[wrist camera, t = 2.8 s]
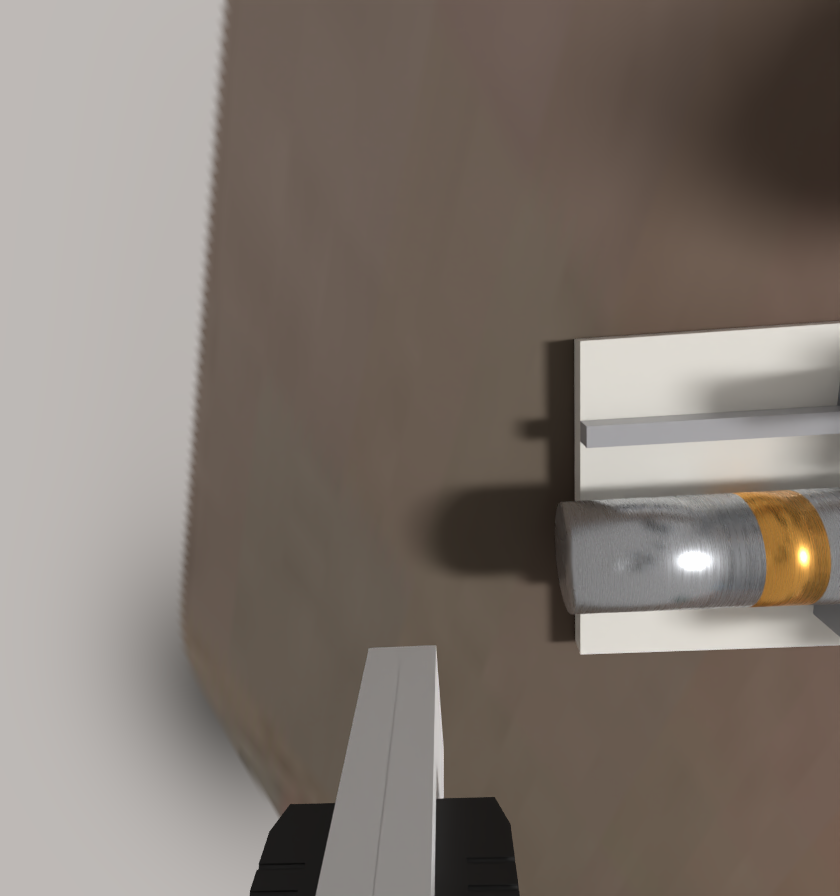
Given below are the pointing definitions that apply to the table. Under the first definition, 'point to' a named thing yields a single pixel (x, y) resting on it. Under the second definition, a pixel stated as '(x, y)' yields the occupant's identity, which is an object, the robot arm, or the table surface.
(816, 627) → the collar board
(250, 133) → the table surface
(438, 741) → the robot arm
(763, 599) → the tube
